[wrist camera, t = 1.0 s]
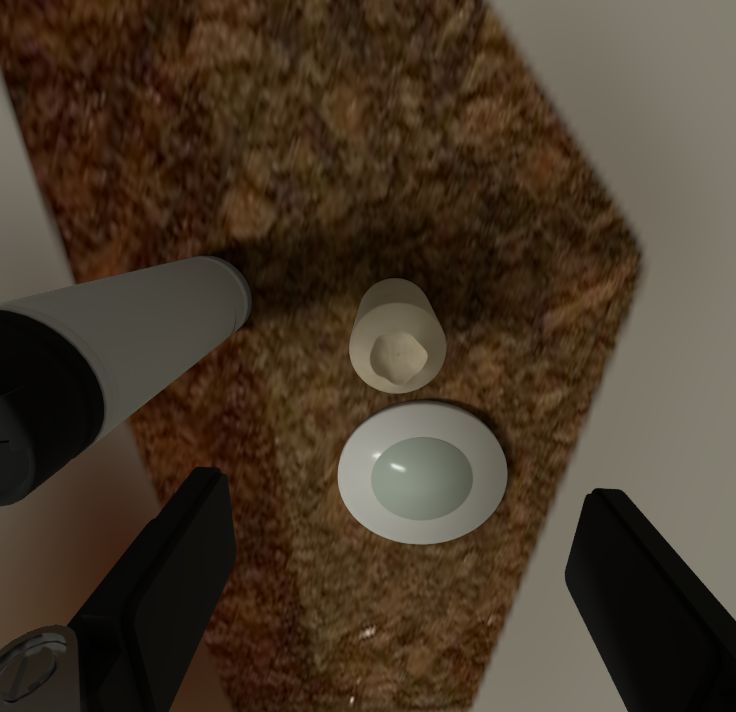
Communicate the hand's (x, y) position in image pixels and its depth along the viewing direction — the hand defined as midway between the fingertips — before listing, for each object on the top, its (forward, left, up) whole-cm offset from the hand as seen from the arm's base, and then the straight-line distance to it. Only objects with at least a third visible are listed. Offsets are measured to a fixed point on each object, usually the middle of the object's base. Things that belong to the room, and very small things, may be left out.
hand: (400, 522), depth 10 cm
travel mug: (-1, -14, -21) cm, 25 cm away
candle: (0, 0, -21) cm, 21 cm away
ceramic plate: (+15, +3, -21) cm, 26 cm away
